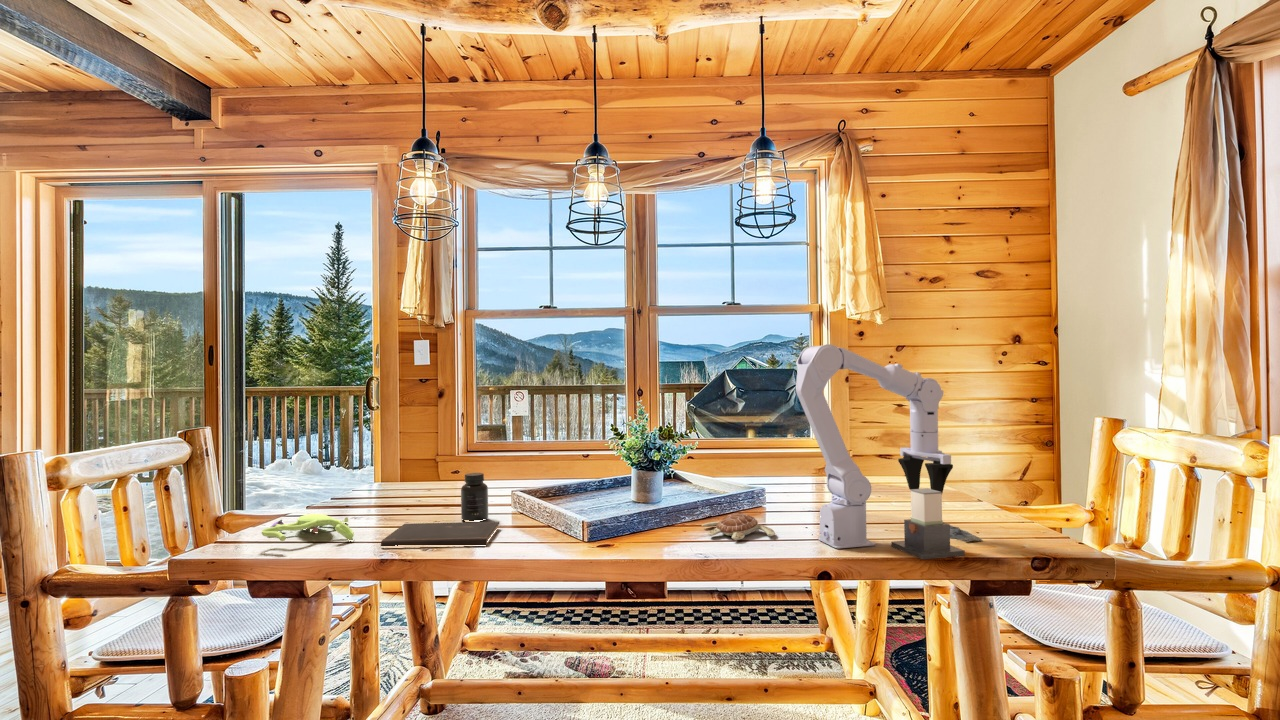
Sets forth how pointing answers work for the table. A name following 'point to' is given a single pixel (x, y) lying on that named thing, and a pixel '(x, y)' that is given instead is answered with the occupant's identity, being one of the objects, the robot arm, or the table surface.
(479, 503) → the supplement bottle
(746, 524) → the decorative turtle
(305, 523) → the figurine
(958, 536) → the driftwood
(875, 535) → the table surface
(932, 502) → the post
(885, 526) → the table surface
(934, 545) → the sleeve stand
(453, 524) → the hardcover book
